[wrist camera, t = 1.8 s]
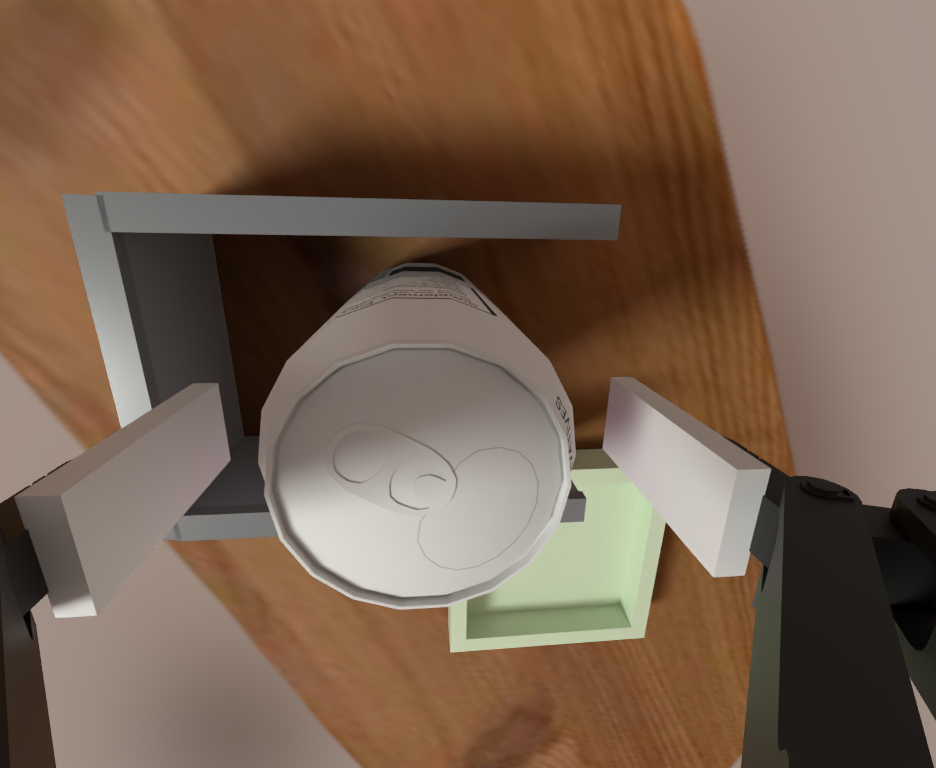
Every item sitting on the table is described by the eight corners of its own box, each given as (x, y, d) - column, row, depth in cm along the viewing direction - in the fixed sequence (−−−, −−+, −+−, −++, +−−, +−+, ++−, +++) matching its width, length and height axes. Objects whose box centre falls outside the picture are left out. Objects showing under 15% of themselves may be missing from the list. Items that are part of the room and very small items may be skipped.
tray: (448, 453, 27) (451, 474, 24) (655, 446, 28) (676, 466, 26) (448, 621, 31) (450, 652, 29) (628, 609, 32) (643, 637, 30)
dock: (182, 203, 21) (60, 190, 14) (559, 212, 23) (621, 204, 16) (226, 454, 25) (150, 542, 18) (540, 444, 27) (583, 521, 20)
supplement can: (524, 311, 24) (666, 424, 10) (447, 432, 26) (477, 666, 12) (391, 229, 22) (342, 230, 8) (318, 366, 24) (176, 556, 10)
